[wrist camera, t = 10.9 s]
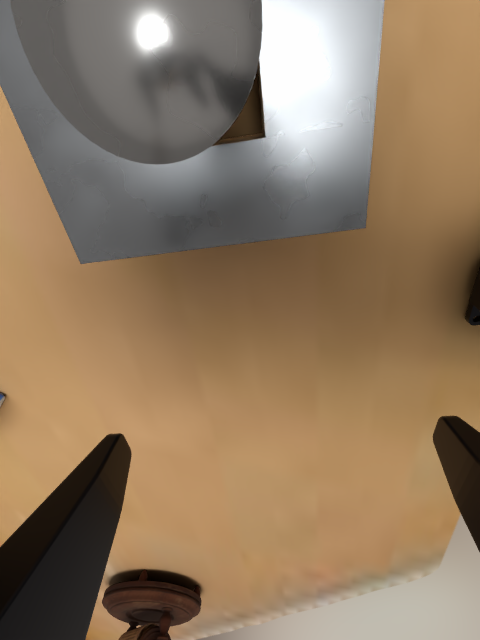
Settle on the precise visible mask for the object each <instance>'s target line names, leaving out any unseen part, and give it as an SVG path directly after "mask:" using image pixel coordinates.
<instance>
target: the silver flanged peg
mask: <svg viewBox="0 0 480 640" xmlns="http://www.w3.org/2000/svg"><path fill="white" fill-rule="evenodd" d="M10 4H11V9H12V13H13V17H14V21H15V25H16V29H17V32H18V35H19V38H20V41H21V44H22V47H23V49H24V52H25V54H26V56H27V59H28V61H29V63H30V65H31V68H32V70H33V72H34V73H35V75H36V77H37V79H38V81H39V82H40V84H41V86H42V88H43V89H44V91H45V92H46V94H47V95H48V97H49V98H50V99H51V101H52V102H53V104H54V105H55V106H56V108H57V109H58V110H59V111H60V112H61V114H62V115H63V116H64V117H65V118H66V119H67V120H68V121H69V122H70V123H71V124H72V125H73V126H74V127H75V128H76V129H77V130H78V131H79V132H80V133H81V134H83V135H84V136H85V137H86V138H88V139H89V140H90V141H91V142H93V143H94V144H96V145H98V146H99V147H101V148H102V149H104V150H106V151H108V152H110V153H112V154H114V155H116V156H118V157H121V158H124V159H127V160H129V161H133V162H138V163H143V164H155V165H159V164H171V163H175V162H180V161H184V160H186V159H189V158H191V157H194V156H196V155H198V154H199V153H201V152H203V151H205V150H206V149H208V148H209V147H210V146H212V145H213V144H214V143H215V142H217V141H218V140H219V139H220V138H221V137H222V136H223V135H224V134H225V133H226V131H227V130H228V129H229V128H230V127H231V126H232V124H233V123H234V121H235V120H236V119H237V117H238V116H239V114H240V112H241V110H242V109H243V107H244V105H245V103H246V101H247V98H248V96H249V94H250V91H251V89H252V86H253V82H254V79H255V75H256V72H257V67H258V62H259V56H260V50H261V40H262V27H263V25H262V0H10Z"/></svg>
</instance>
